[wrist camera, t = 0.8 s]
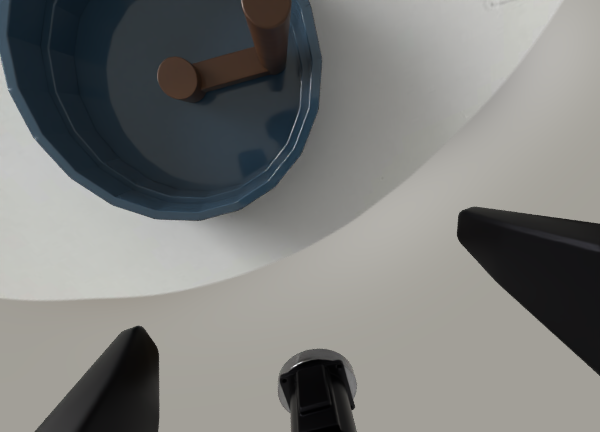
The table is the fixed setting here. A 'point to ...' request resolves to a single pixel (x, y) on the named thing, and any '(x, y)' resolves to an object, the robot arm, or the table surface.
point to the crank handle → (234, 55)
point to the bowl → (158, 101)
